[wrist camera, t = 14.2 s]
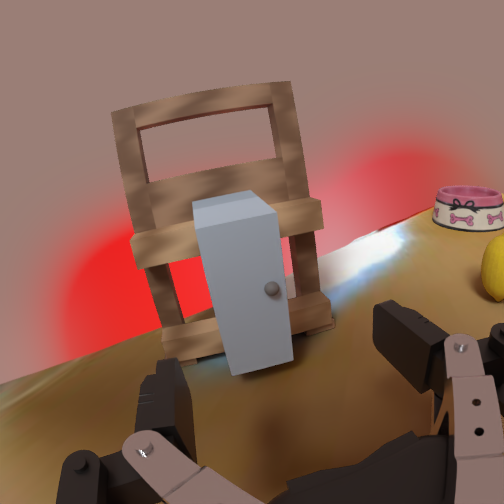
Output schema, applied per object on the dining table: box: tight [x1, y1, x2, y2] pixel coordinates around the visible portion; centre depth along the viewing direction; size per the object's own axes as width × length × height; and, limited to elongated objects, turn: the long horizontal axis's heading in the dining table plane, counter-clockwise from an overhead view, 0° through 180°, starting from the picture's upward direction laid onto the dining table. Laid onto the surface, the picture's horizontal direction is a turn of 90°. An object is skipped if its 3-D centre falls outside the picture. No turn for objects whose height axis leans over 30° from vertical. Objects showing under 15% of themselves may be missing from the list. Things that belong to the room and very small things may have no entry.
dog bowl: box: [432, 186, 504, 232], centre depth 53 cm, size 18×19×7 cm
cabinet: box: [192, 190, 294, 376], centre depth 24 cm, size 5×9×12 cm, turn 11°
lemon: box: [481, 233, 504, 302], centre depth 25 cm, size 6×6×8 cm
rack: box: [111, 81, 335, 367], centre depth 28 cm, size 17×6×24 cm, turn 101°
